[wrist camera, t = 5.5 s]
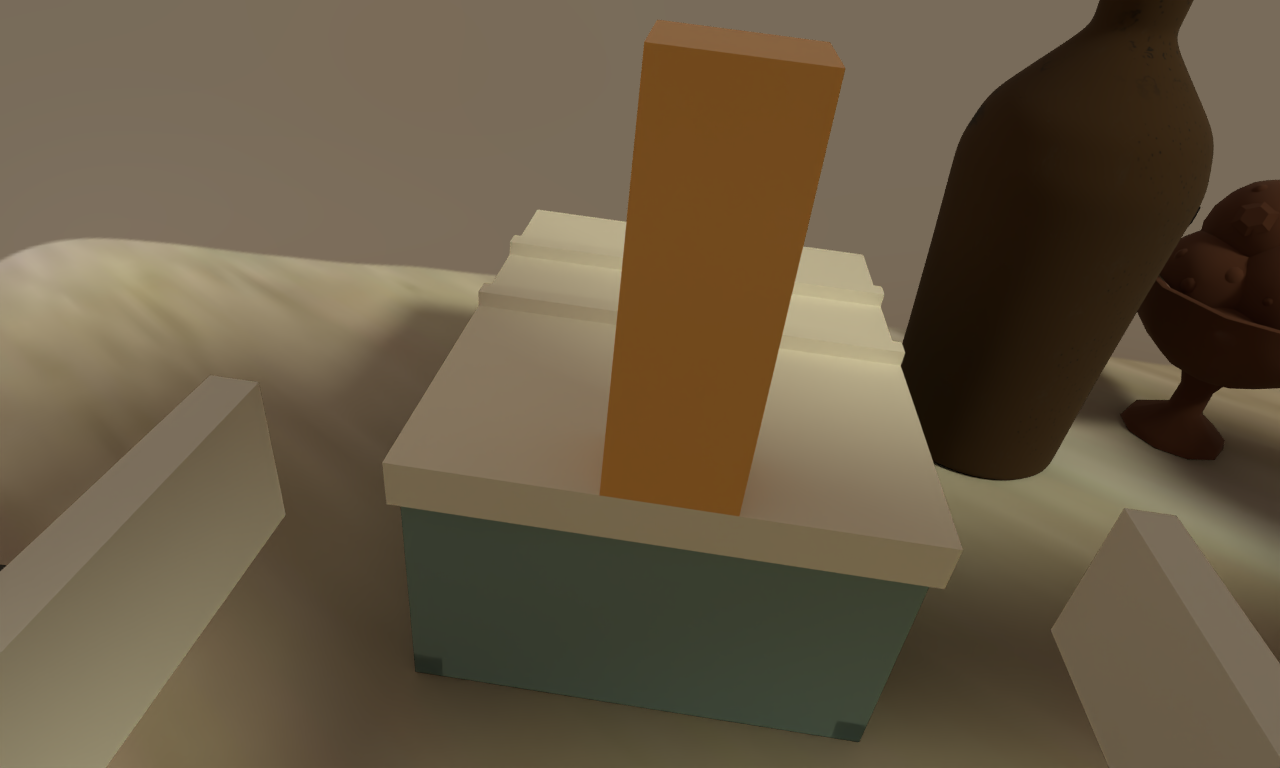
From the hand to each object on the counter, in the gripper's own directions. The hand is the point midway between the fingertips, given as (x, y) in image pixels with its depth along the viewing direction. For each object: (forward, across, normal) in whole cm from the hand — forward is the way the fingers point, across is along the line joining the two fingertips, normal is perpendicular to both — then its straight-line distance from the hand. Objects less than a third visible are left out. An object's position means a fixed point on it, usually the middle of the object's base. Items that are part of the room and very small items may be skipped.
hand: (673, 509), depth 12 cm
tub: (+18, 0, -16) cm, 24 cm away
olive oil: (+29, +17, -17) cm, 37 cm away
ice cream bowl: (+31, +30, -17) cm, 47 cm away
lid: (+18, 0, -8) cm, 19 cm away
